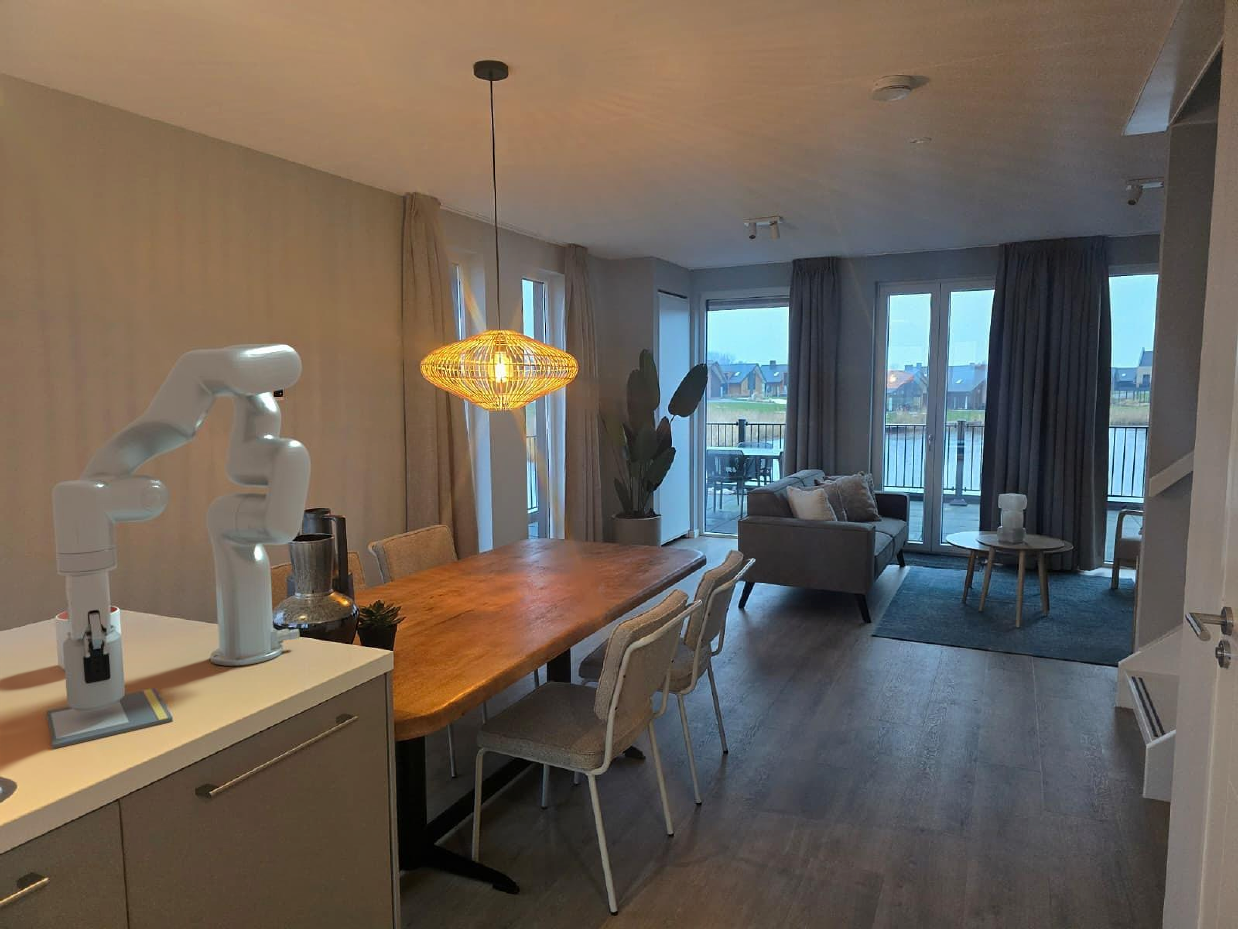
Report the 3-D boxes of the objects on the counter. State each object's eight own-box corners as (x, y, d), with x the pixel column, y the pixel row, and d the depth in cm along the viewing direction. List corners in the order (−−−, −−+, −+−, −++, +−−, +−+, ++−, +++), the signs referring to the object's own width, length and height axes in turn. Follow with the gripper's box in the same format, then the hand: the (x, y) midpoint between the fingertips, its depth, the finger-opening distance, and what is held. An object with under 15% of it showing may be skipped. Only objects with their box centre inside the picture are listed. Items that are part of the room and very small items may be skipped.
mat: (155, 691, 134) (155, 687, 134) (172, 721, 122) (172, 716, 121) (46, 714, 125) (46, 710, 125) (53, 748, 112) (52, 744, 112)
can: (135, 700, 123) (130, 625, 122) (83, 717, 117) (77, 638, 116) (109, 692, 127) (104, 619, 126) (57, 708, 121) (52, 631, 120)
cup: (49, 676, 142) (45, 622, 141) (70, 659, 152) (67, 608, 151) (112, 670, 145) (109, 617, 144) (129, 653, 154) (126, 603, 154)
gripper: (53, 555, 125) (61, 664, 126) (61, 574, 111) (70, 696, 112) (109, 549, 129) (116, 654, 131) (123, 566, 116) (131, 683, 117)
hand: (94, 673), depth 122 cm, fingers closed on can, 7 cm apart
